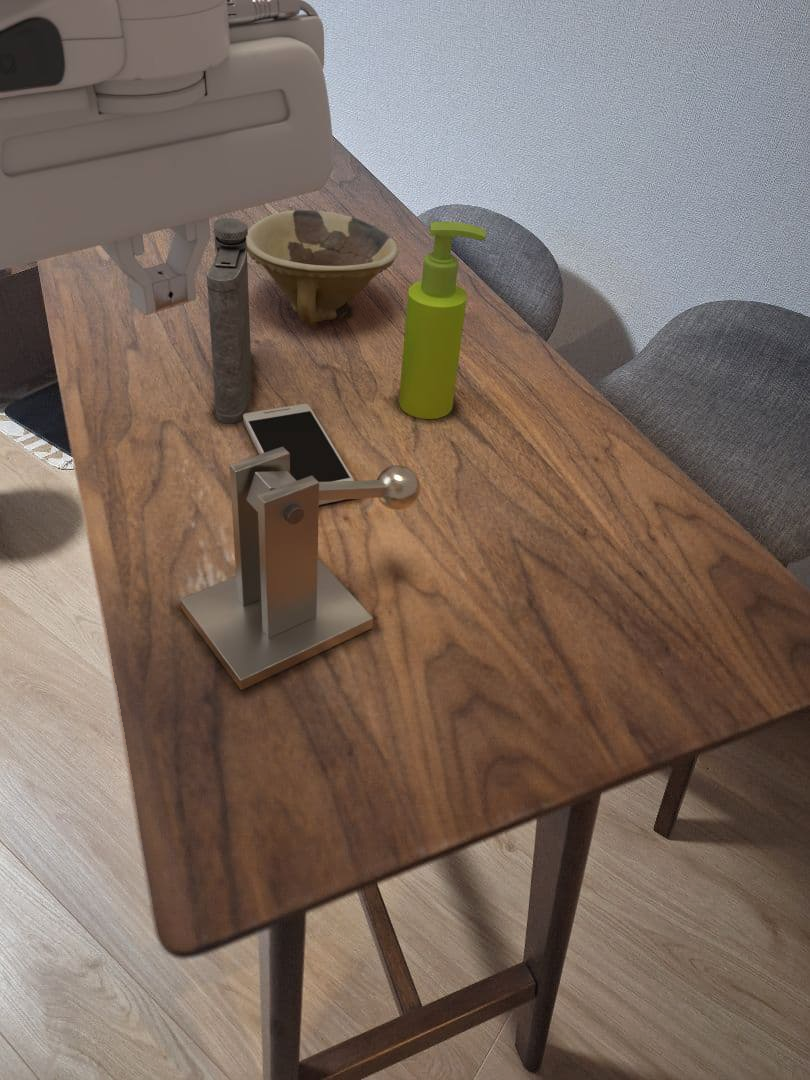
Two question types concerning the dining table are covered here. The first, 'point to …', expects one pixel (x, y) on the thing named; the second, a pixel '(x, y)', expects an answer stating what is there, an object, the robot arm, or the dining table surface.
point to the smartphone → (298, 442)
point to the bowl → (320, 258)
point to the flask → (230, 320)
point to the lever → (349, 487)
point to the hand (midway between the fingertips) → (164, 304)
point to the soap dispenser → (434, 327)
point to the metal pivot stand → (274, 582)
